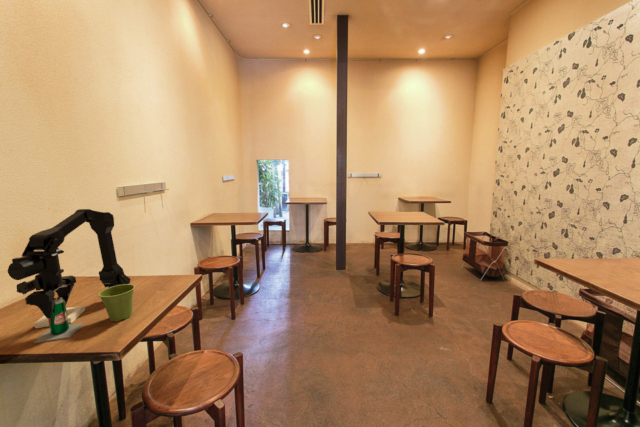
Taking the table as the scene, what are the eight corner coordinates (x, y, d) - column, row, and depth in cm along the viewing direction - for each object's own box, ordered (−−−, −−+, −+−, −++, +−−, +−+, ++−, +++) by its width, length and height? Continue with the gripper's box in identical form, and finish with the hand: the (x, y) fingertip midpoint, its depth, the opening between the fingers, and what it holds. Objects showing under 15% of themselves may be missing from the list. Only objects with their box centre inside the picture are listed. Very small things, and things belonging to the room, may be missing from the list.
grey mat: (83, 323, 112) (83, 322, 112) (69, 337, 103) (69, 336, 102) (51, 328, 109) (51, 327, 109) (34, 343, 100) (34, 342, 100)
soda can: (57, 336, 103) (52, 303, 101) (47, 334, 104) (41, 302, 102) (73, 328, 108) (67, 297, 106) (62, 327, 109) (57, 296, 107)
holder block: (84, 310, 124) (84, 305, 123) (71, 323, 113) (70, 318, 113) (52, 314, 120) (51, 309, 120) (35, 328, 110) (34, 323, 110)
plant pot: (107, 313, 120) (103, 287, 118) (141, 308, 124) (137, 282, 122) (97, 327, 109) (93, 298, 107) (134, 321, 113) (131, 292, 111)
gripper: (37, 264, 109) (44, 304, 111) (0, 282, 91) (9, 329, 94) (73, 260, 112) (79, 299, 114) (44, 277, 94) (52, 323, 97)
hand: (56, 311), depth 105 cm, fingers open, 9 cm apart
